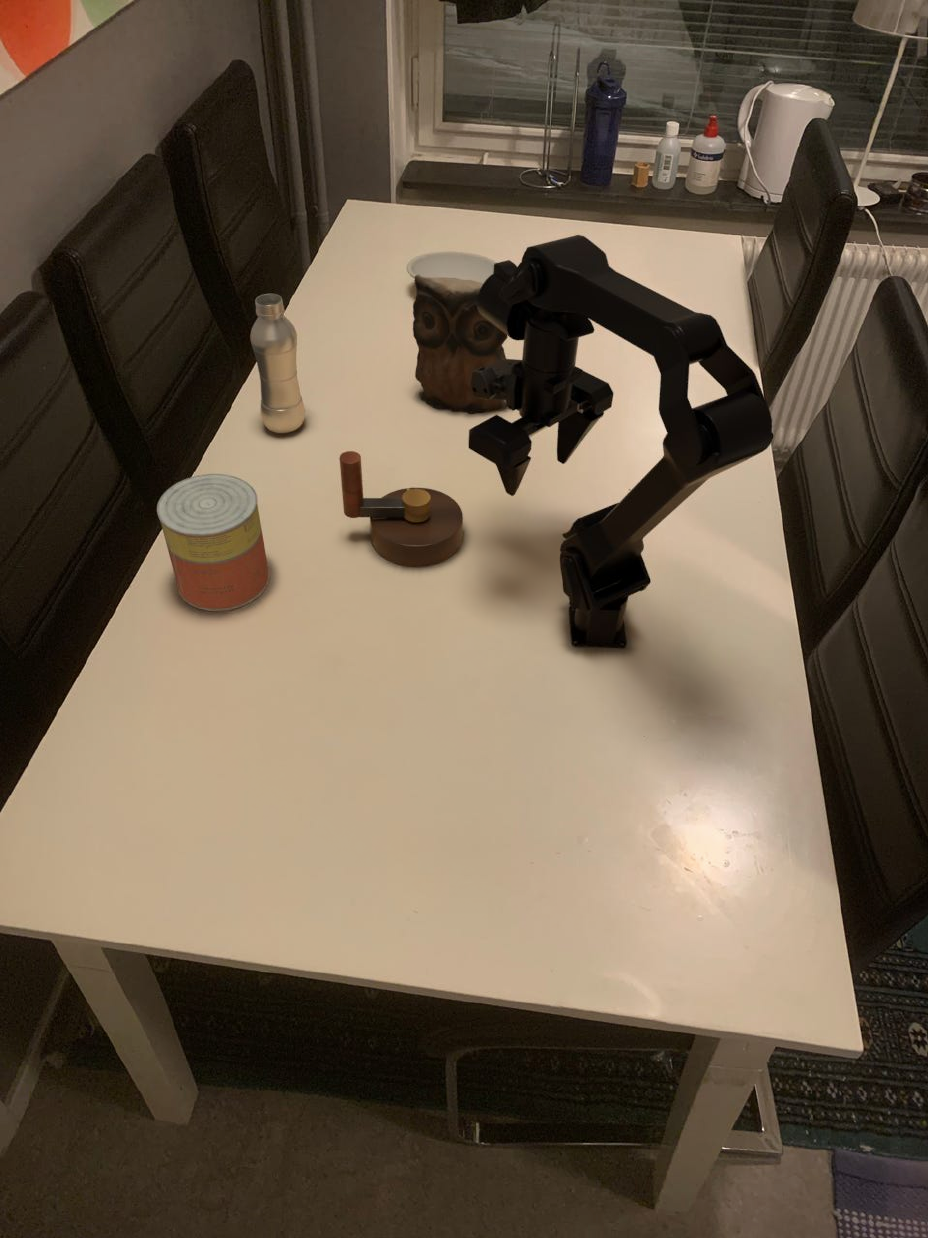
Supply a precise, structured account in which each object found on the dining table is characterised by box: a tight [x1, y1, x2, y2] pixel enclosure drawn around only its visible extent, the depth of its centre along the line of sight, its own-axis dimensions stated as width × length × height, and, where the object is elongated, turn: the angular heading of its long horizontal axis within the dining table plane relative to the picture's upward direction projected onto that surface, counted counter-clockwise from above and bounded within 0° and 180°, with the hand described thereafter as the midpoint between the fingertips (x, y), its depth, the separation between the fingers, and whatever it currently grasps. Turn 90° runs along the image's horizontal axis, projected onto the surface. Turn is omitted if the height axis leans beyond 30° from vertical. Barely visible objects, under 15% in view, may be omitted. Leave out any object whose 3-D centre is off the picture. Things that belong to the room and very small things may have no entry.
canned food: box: [156, 473, 271, 612], centre depth 109 cm, size 11×11×12 cm
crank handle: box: [339, 450, 431, 522], centre depth 114 cm, size 11×4×9 cm, turn 92°
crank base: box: [369, 487, 464, 568], centre depth 119 cm, size 12×12×4 cm
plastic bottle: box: [249, 293, 306, 434], centre depth 130 cm, size 6×7×20 cm
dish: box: [405, 251, 498, 283], centre depth 167 cm, size 18×14×5 cm
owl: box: [412, 275, 509, 415], centre depth 137 cm, size 13×13×20 cm
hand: (536, 477), depth 109 cm, fingers open, 9 cm apart
